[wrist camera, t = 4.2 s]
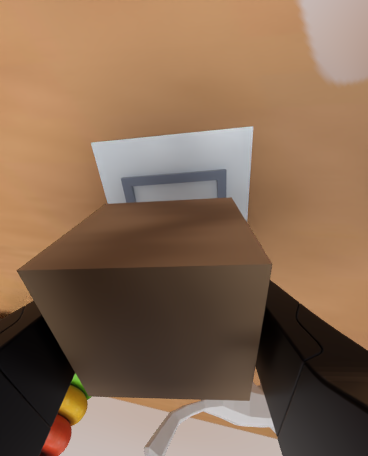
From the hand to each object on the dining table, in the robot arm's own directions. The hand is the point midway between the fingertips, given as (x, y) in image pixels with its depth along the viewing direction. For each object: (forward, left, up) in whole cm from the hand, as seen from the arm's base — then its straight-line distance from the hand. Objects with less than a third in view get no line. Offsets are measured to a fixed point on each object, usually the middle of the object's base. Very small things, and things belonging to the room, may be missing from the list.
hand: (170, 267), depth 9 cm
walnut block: (0, 0, -1) cm, 1 cm away
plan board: (+1, +2, -11) cm, 11 cm away
